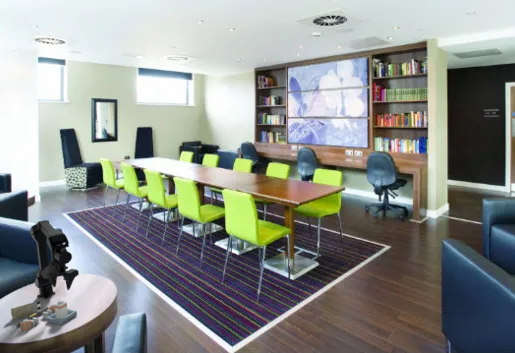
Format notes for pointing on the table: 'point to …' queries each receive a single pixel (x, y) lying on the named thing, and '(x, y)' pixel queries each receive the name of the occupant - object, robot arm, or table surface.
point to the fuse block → (45, 312)
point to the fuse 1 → (25, 324)
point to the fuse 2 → (52, 308)
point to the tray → (59, 322)
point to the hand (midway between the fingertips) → (61, 288)
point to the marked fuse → (61, 309)
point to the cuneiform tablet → (24, 311)
